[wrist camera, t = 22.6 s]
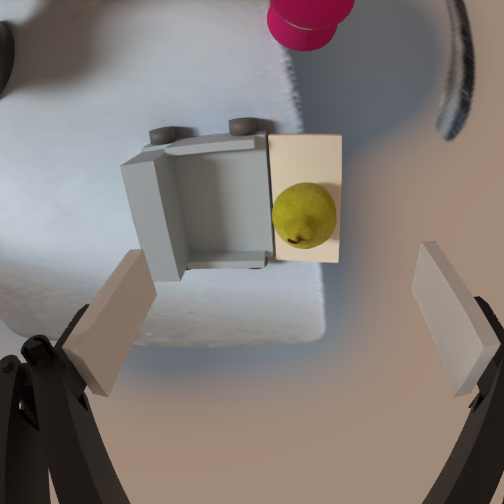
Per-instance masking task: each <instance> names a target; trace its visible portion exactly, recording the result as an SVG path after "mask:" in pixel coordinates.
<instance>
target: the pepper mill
mask: <svg viewBox="0 0 504 504" xmlns="http://www.w3.org/2000/svg"><path fill="white" fill-rule="evenodd" d="M354 1H355V0H270V3H271V5H270V7H269V10H268V14H267V24H268V28H269V30H270V32H271V34H272V36H273V37H274V38H275V39H276V40H277V41H278V42H279V43H280V44H282V45H283V46H285V47H287V48H290V49H293V50H297V51H312V50H316V49H319V48H321V47H323V46H324V45H326V44H327V43H328V42H329V41H330V40H331V39H332V37H333V36H334V33H335V31H336V29H337V24H338V23H340V22H342V21H343V20H344V19H345V18H346V17H347V16H348V14H349V13H350V12H351V10H352V8H353V5H354Z"/></svg>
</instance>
